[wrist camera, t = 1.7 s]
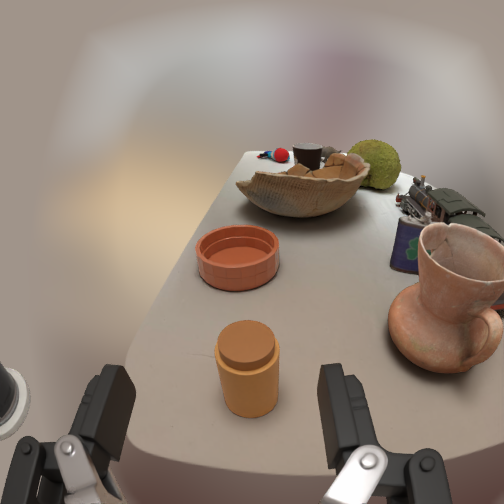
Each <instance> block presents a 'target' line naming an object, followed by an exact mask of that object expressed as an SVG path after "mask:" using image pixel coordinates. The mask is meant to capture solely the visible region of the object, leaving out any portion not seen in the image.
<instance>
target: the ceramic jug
mask: <svg viewBox="0 0 504 504" xmlns="http://www.w3.org/2000/svg"><path fill="white" fill-rule="evenodd" d="M426 250H431V255H429V254H428V253H427V252H426ZM418 269H419V282H417V283H415V284H414V285H412V286H409V287H407V288H406V289H404V290H403V291H402V292H400V293H399V294H398V295H397V297H396V298H395V299H394V301H393V302H392V304H391V306H390V309H389V314H388V326H389V332H390V335H391V337H392V340H393V342H394V343H395V345H396V346H397V348H398V349H399V350H400V352H401V353H402V354H403V355H404V356H405V357H406V358H407V359H409V360H410V361H411V362H413V363H414V364H416V365H417V366H419V367H421V368H423V369H426V370H429V371H432V372H437V373H458V372H464V371H468V370H469V369H470V368H471V367H472V366H473V365H476V364H479V363H481V362H484V361H485V360H487V359H488V358H489V357H490V356H491V355H492V354H493V353H494V352H495V350H496V349H497V347H498V345H499V343H500V340H501V338H502V334H503V323H502V320H501V318H500V316H499V315H498V313H497V312H496V311H495V310H493V309H491V308H490V307H491V305H493V304H494V303H495V301H496V300H497V299H498V298H499V297H500V296H501V294H502V293H503V292H504V247H503V246H502V245H501V244H500V243H499V242H498V241H496V240H495V239H493V238H491V237H490V236H488V235H486V234H485V233H482V232H480V231H478V230H476V229H474V228H471V227H468V226H465V225H461V224H457V223H450V224H449V225H446V224H445V223H442V222H440V223H433V224H430V225H428V226H426V227H425V228H424V229H423V230H422V231H421V233H420V237H419V242H418Z"/></svg>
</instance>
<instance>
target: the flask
mask: <svg viewBox="0 0 504 504" xmlns="http://www.w3.org/2000/svg"><path fill="white" fill-rule="evenodd" d="M425 214H426V215H425V216H424V217H421V218H420V219H418V218H416V217H414V218H411V215H409V216H408V217H406V216H403V217H401V218H399V221H398V227H397V232H396V237H395V243H394V246H393V252H392V256H391V261H390V267H391V268H392V269H394V270H397V271H401V272H405V273H410V274H411V273H413V274H415V273H416V274H419V269H418V242H419V237H420V233H421V231H422V230H423V229H424V228H425V227H426V226H428V225H430V224H433V223H439V222H432V221H431V218H433V217H431V213H430V212H428V211H427V213H425ZM446 225H447V224H446ZM426 252H427V253H428V254H429V255H431V250H426Z"/></svg>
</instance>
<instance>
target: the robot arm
mask: <svg viewBox="0 0 504 504" xmlns="http://www.w3.org/2000/svg"><path fill="white" fill-rule="evenodd" d="M84 394H85V395H84V396H83V398H82V401H81V404H80V406H79V408H78V411H77V413H76V416H75V419H74V422H73V424H72V427H71V430H70V432H69V434H68V435H64V436H62V437H60V438H59V439H58V440H57V442H44V443H39V442H38V441H37V440H36V439H35V438H33V437H31V436H25V437H23V438H22V439H20V440H19V441H18V443H17V446H16V449H15V452H14V455H13V458H12V461H11V465H10V468H9V472H8V475H7V479H6V483H5V487H4V491H3V495H2V499H1V504H129V503H128V501H127V500H126V498H125V496H124V494H123V492H122V491H121V489H120V487H119V485H118V483H117V481H116V479H115V477H114V475H113V473H112V471H111V468H110V467H109V462H110V460H113V461H117V462H119V460H120V455H121V451H122V447H123V444H124V440H125V436H126V432H127V428H128V424H129V421H130V417H131V413H132V410H133V406H134V402H135V399H136V389H135V386H134V384H133V382H132V381H131V379H130V377H129V375H128V373H127V372H126V370H125V368H124V367H123V366H120V365H110V364H106V365H105V366H104V367H103V369H102V372H101V374H100V376H99V375H95V377H94V378H93V379H92V380H91V381H90V382H89V384H88V385H87V388H86V390H85V393H84ZM317 396H318V404H319V410H320V416H321V423H322V429H323V436H324V442H325V449H326V456H327V463H328V469H334V468H336V475H337V478H336V479H335V481H334V482H333V484H332V485H331V487H330V488H329V490H328V491H327V492H326V494H325V495H324V497H323V498H322V499H321V501H320V502H319V504H366V503H367V501H368V500H369V498H370V496H385V497H386V499H387V504H452V499H451V494H450V489H449V484H448V479H447V475H446V471H445V466H444V462H443V459H442V456H441V455H440V454H439V453H438V452H437V451H436V450H434V449H430V448H425V449H421V450H419V451H417V452H416V453H415V454H401V453H392V452H389V451H387V450H385V449H384V448H382V447H381V446H380V444H379V443H378V441H377V438H376V434H375V430H374V426H373V422H372V419H371V415H370V411H369V407H368V404H367V400H366V398H365V393H364V390H363V386H362V384H361V382H360V381H359V380H358V379H357V378H356V376H355V375H347V376H344V372H343V369H342V365H341V364H340V363H335V364H326V365H321V369H320V375H319V380H318V386H317ZM18 401H19V387H18V384H17V382H16V380H15V379H14V378H13V377H12V375H11V374H10V373H9V372H7V370H6V369H5V368H4V366H3V365H2V364H1V363H0V426H2V425H3V424H5V423H6V422H7V421H8V420H9V419H10V418H11V416H12V415H13V413H14V412H15V410H16V407H17V405H18ZM41 475H42V478H41V482H40V486H39V481H40V477H41ZM38 486H39V491H38V495H37V490H38ZM36 495H37V496H36Z"/></svg>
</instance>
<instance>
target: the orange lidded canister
mask: <svg viewBox="0 0 504 504" xmlns="http://www.w3.org/2000/svg"><path fill="white" fill-rule="evenodd" d="M279 351H280V349H279V344H278V341H277V340H276V338H275V337H274V334H273V332H272V331H271V329H270V328H269V327H267V326H266V325H264V324H262V323H260V322H257V321H251V320H244V321H238V322H235V323H232V324H230V325H228V326H227V327H226V328H224V329H223V330H222V332H221V333H220V335H219V337H218V342H217V344H216V346H215V358H216V363H217V367H218V372H219V376H220V381H221V385H222V389H223V393H224V398H225V402H226V404H227V406H228V408H229V409H230V410H231V411H232V412H233V413H235V414H237V415H239V416H242V417H246V418H255V417H260V416H263V415H265V414H267V413H268V412H270V411H271V410H272V409H273V408H274V406H275V405H276V403H277V399H278V381H279Z"/></svg>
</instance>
